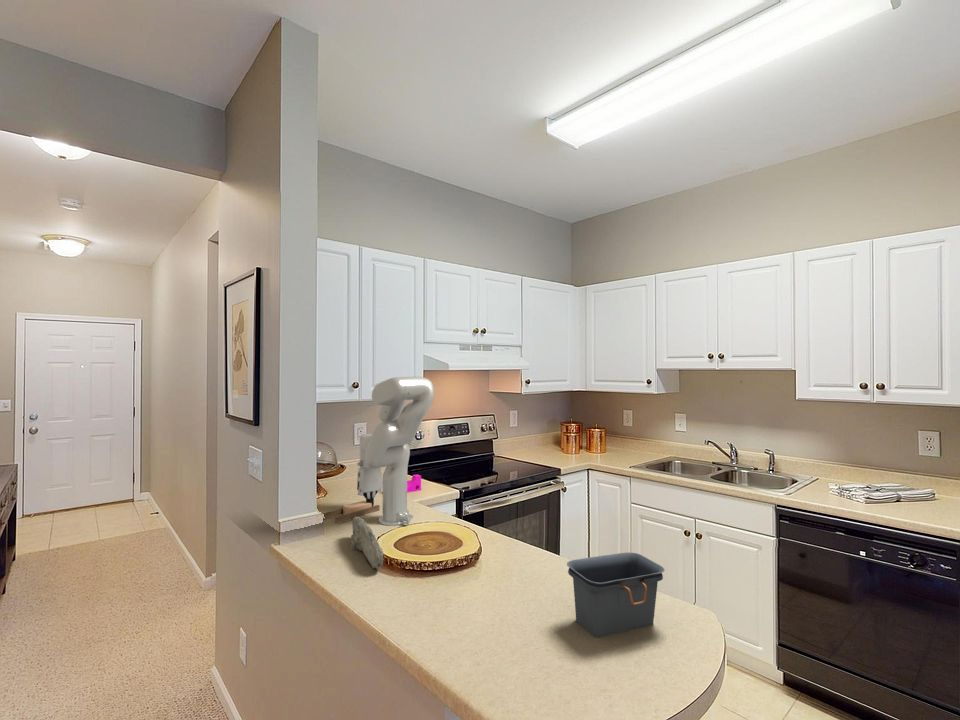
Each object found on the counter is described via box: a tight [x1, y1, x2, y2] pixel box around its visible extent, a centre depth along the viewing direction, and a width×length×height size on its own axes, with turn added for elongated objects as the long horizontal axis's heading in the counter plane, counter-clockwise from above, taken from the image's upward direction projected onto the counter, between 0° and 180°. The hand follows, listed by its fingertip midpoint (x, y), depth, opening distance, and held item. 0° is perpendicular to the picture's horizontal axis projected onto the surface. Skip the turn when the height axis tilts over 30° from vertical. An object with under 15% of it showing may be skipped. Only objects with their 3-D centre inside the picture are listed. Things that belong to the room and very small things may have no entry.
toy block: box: [407, 474, 422, 494], centre depth 239 cm, size 15×6×8 cm, turn 124°
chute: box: [323, 504, 380, 525], centre depth 202 cm, size 10×22×2 cm, turn 143°
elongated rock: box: [350, 516, 384, 569], centre depth 160 cm, size 35×5×10 cm, turn 28°
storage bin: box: [566, 552, 665, 639], centre depth 117 cm, size 21×16×14 cm
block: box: [342, 500, 372, 515], centre depth 205 cm, size 6×10×4 cm, turn 135°
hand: (369, 507), depth 208 cm, fingers closed
